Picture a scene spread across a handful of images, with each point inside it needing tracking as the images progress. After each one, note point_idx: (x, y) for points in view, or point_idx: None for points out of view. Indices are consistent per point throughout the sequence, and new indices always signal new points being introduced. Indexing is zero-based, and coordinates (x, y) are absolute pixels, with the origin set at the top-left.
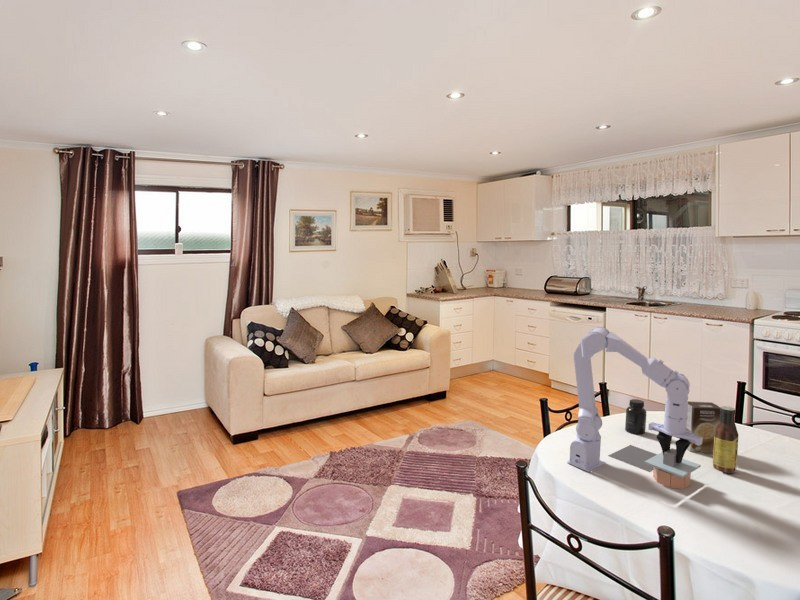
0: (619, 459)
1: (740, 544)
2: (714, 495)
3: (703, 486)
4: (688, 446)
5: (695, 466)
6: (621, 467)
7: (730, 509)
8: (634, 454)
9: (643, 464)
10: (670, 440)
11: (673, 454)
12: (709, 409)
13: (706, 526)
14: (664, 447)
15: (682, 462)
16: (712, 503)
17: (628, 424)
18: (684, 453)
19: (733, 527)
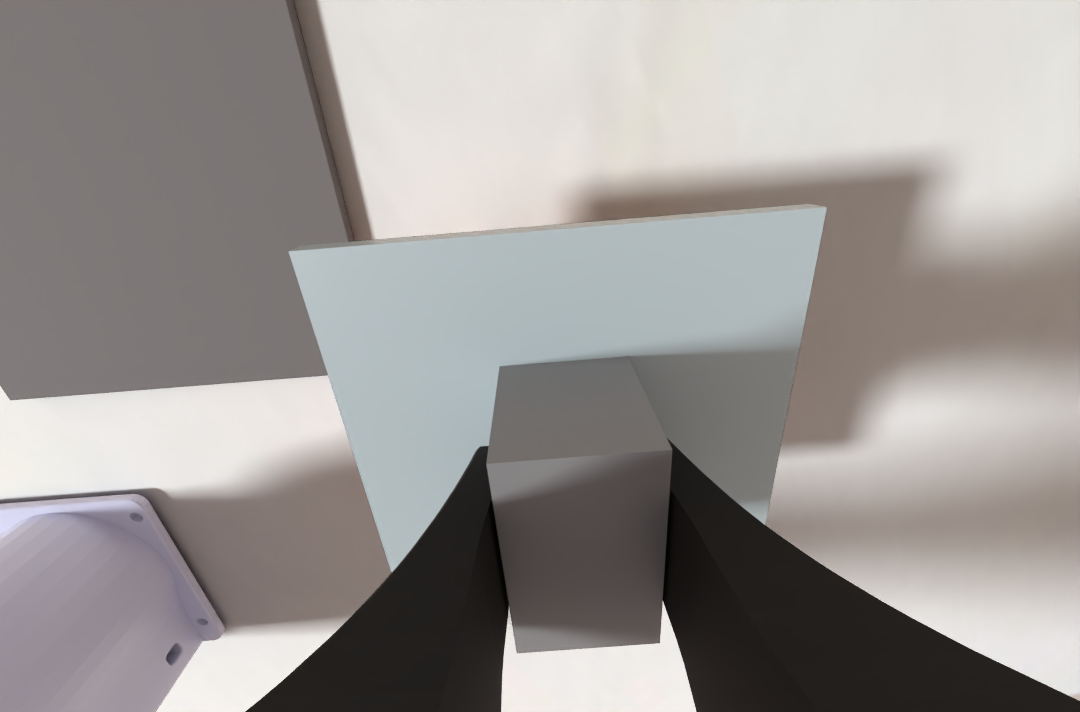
0: (105, 381)
1: (1026, 602)
2: (860, 274)
3: (756, 199)
4: (887, 615)
5: (785, 313)
6: (227, 444)
7: (978, 370)
8: (11, 157)
9: (251, 292)
10: (465, 675)
11: (631, 619)
12: None
13: (882, 596)
14: (497, 699)
15: (632, 343)
16: (868, 392)
17: None
18: (734, 501)
19: (997, 521)
